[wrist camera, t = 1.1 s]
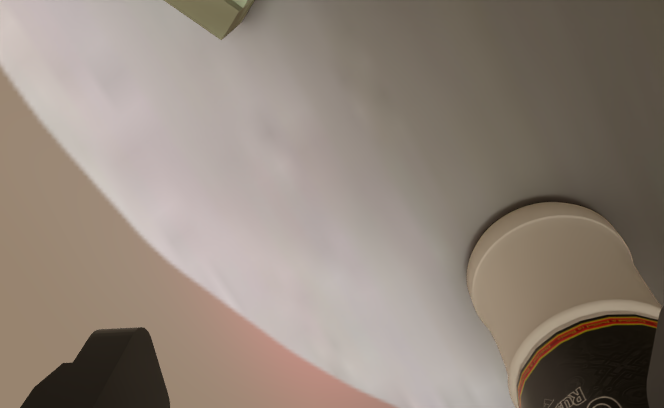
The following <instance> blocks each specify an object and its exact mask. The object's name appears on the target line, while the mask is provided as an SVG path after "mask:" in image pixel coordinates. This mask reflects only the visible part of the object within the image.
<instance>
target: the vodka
mask: <svg viewBox="0 0 664 408" xmlns="http://www.w3.org/2000/svg"><path fill="white" fill-rule="evenodd" d="M467 287H468V291H469V294H470V297H471V299H472V302H473V305H474V308H475V310H476V312H477V314H478V316H479V318H480V319H481V321H482V322H483V323H484V325H485V326H486V327H487V328H488V329H489V330H490V332H491V334H492V336H493V338H494V340H495V341H496V344H497V346H498V349H499V351H500V354H501V356H502V359H503V361H504V364H505V367H506V371H507V374H508V388H509V393H510V396H511V399H512V401H513V403H514V405H515V407H516V408H649V404H648V399H647V377H648V371H649V366H650V361H651V355H652V350H653V345H654V339H655V334H656V328H657V323H658V318H659V314H660V311H661V309H662V306H661V305H660V304H659V303H658V301H657V300H656V298H655V297H654V295H653V294H652V292H651V291H650V289H649V288H648V286H647V285H646V283H645V282H644V280H643V278H642V277H641V275H640V274H639V272H638V270H637V269H636V267H635V265H634V263H633V259H632V256H631V253H630V250H629V248H628V247H627V245H626V243H625V242H624V240H623V239H622V237H621V236H620V235H619V233H618V232H617V231H616V230H615V228H614V227H613V226H612V225H611V224H610V223H609V222H608V221H607V220H606V219H605V218H604V217H602V216H601V215H600V214H598V213H596V212H594V211H592V210H590V209H588V208H585V207H582V206H579V205H575V204H569V203H562V202H543V203H536V204H532V205H528V206H524V207H522V208H519V209H516V210H514V211H512V212H510V213H508V214H507V215H505V216H503V217H502V218H500V219H499V220H497V221H496V222H495V223H494V224H492V225H491V226H490V227H489V228H488V229H487V230H486V231H485V232H484V234H483V235H482V236H481V238H480V239H479V241H478V243H477V244H476V246H475V248H474V250H473V252H472V254H471V257H470V260H469V263H468V268H467Z"/></svg>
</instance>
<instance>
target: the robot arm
mask: <svg viewBox="0 0 664 408" xmlns="http://www.w3.org/2000/svg"><path fill="white" fill-rule="evenodd" d="M647 399H648V404H649V408H664V306H663V307H662V309H661V311H660V314H659V318H658V323H657V328H656V334H655V339H654V345H653V350H652V355H651V361H650V366H649V371H648V377H647ZM20 408H170V402H169V396H168V393H167V389H166V386H165V383H164V379H163V376H162V373H161V369H160V366H159V363H158V359H157V356H156V353H155V349H154V346H153V343H152V340H151V337H150V334H149V332H148V331H147V330H146V329H145V328H142V327H141V328H120V329H101V330H96V331H94V332H93V333H92V334H91V336H90V337H89V339H88V340H87V342H86V343H85V345H84V346H83V348H82V349H81V351H80V352H79V354H78V355H77V357H76V359H75V360H74V362H73V363H63V364H61V365H60V366H59V367H58V368H57V369H56V370H55V371H53V372H52V373H51V374H50V375H48V376H47V377H46V378H45V379H44V380H42V381H41V382H40V383H39V384H38V385H37V386H35V387H34V389H33V390H32V391H31V393H30V394H29V396H28V397H27V399H26V400H25V401H24V403H23V405H22V406H21V407H20Z"/></svg>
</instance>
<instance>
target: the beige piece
mask: <svg viewBox="0 0 664 408" xmlns="http://www.w3.org/2000/svg"><path fill="white" fill-rule="evenodd" d="M164 1H166V2H167V3H168V4H170V5H171V6H173V7H174V8H176V9H177V10H179V11H180V12H181V13H183V14H184V15H186V16H187V17H189V18H190V19H192V20H193V21H194V22H196V23H197V24H199V25H200V26H202V27H203V28H205V29H206V30H207V31H209V32H210V33H212V34H213V35H215V36H216V37H218V38H219V39H220V40H222V39H223V38H224V37H226V36H227V35H228V34H229V33H230V32H231V31H232V30H233V29H234V28H235V27H237V26H238V25H239V24H240V23H241V22H242V20H243V19H244V17H245V15H246V14H247V12H248V10H249V9H250V7H251V6H252V4H253V2H254V1H255V0H164Z"/></svg>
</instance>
